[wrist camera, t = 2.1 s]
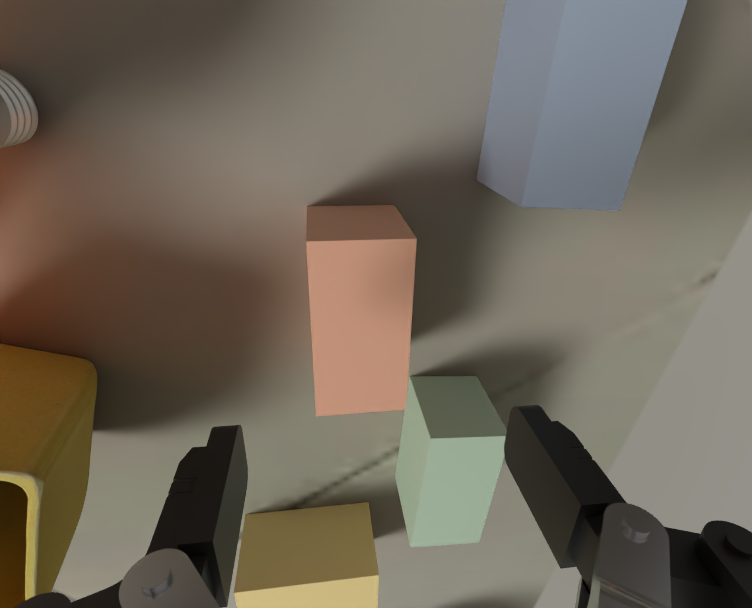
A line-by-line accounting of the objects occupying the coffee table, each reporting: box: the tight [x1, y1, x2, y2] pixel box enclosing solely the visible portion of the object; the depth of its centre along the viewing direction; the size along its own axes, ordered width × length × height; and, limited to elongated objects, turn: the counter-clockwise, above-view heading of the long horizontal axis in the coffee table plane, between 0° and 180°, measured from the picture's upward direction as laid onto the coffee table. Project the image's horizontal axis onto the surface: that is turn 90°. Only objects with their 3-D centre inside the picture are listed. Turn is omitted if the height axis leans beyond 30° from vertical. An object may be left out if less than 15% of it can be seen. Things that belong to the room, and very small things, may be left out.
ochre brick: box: [234, 502, 379, 608], centre depth 28 cm, size 8×4×5 cm, turn 89°
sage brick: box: [395, 376, 507, 547], centre depth 25 cm, size 8×4×5 cm, turn 175°
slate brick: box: [476, 0, 688, 211], centre depth 17 cm, size 8×4×5 cm, turn 176°
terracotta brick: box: [306, 205, 417, 416], centre depth 20 cm, size 8×4×5 cm, turn 179°
